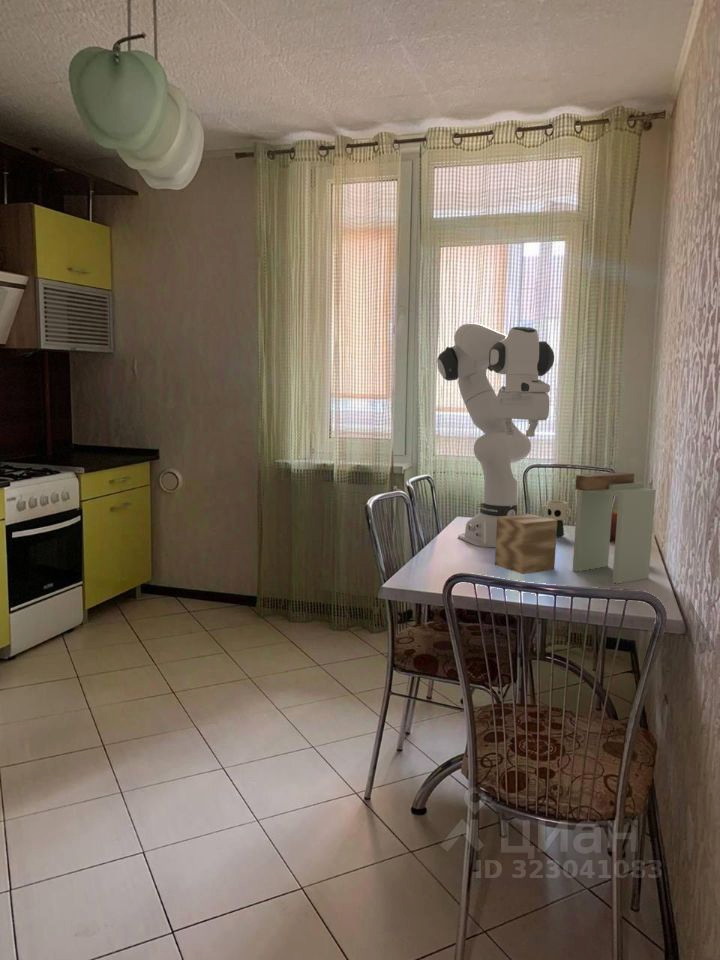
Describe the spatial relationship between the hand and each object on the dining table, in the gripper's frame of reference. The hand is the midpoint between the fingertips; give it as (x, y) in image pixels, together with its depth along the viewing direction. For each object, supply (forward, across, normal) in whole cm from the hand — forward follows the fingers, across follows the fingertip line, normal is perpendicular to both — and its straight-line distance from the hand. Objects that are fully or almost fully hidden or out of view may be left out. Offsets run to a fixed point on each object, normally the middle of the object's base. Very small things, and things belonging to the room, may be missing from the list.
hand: (519, 435), depth 202 cm
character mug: (+40, -42, +50) cm, 77 cm away
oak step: (+41, -9, +11) cm, 43 cm away
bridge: (+41, +7, +30) cm, 51 cm away
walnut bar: (+15, +8, +25) cm, 30 cm away
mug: (+41, -31, +67) cm, 85 cm away
